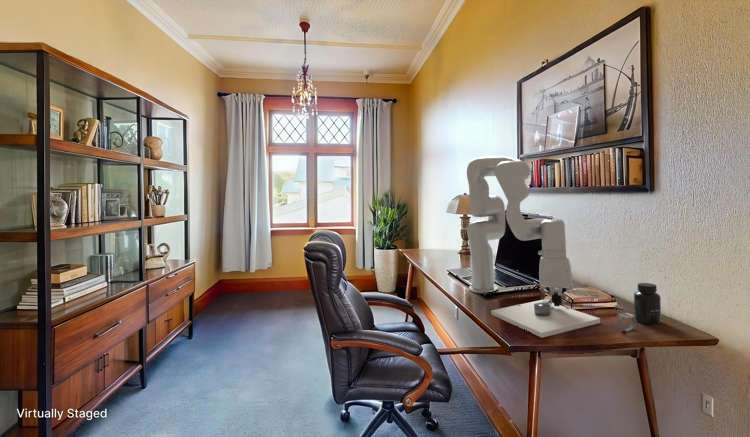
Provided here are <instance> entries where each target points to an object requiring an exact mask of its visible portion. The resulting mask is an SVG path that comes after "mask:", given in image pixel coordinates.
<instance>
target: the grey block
mask: <svg viewBox="0 0 750 437" xmlns="http://www.w3.org/2000/svg"><path fill="white" fill-rule="evenodd" d="M542 300H543V301H542V302H541V303H535V304H534V313H535V314H536V315H540V316H548V315H550V308H551V307H552V296H549V295H547V296H545V297H544V299H542Z"/></svg>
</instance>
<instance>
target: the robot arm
mask: <svg viewBox="0 0 750 437" xmlns="http://www.w3.org/2000/svg"><path fill="white" fill-rule="evenodd" d="M530 175H531V168H530V167H529V164H527V162H525V161H524V160H520V159H517V158H512V157H508V156H503V155H502V156H501V155H499V156H498V155H495V156H490V155H489V156H479V157H476V158H473V159H472V160H470V162H469V163H468V165H467V168H466V178H467V182H468V189H469V191H468V192H469V194H468V196H469V200H468V201H469V212H470V214H471V216H472V217H473V218H477V219H478V218H488V219H482V220H476V221H472V222H470V223H469V225H468V226H467V227H466V233H467V238H468V243H469V248H470V250H469V251H470V263H471V264H470V265H471V278H470V279H469V280H468V281H469V283H471V285H469V287H468V290H469V291H470V292H472V293H475V294H484V293H483V292H489V291H494V290H497V289H498V290H499V287H498V285H495V274H494V257H493V254H494V253H493V249H492V247H491V244H490V243H489V241H495V240H499V239H501V238H502V237H503V236H504V235H505V232H506V221H507V224H508V226H509V228H510V230H511V232H512V233H513V235H514V237H515V238H516V239H518V240H519V241H532V240H537V239H538V240H539V239H541V250H538V252H537V255H539V256H541V257H542V258H541V257H540V259H539V271H538V277H539V278H538V281H539V288H540V289H543V290H544V289H546V290H547V291H548V292H549V293H548V294H550V295H551V297H552V303H554V306H558V307H559V306H560V305H562V304H563V296H562V294H563V293H564V292H565V291H566V292H567V291H573V290H574V286H573V273H572V267H571V261H570V258H569V257H567V246H566V245H567V244H566V229H565V228H566V227H565V226H566V224H565V222H564V220H563V219H558V218H557V219H556V218H555V219H554V218H551V219H548V218H544V217H543V218H541V217H539V218H538V217H537V218H531V219H525V217H524V216H523V214H522V211H521V202H523V201H524V200H525V199H527V198H528V197H529V195H530V190H529V188H528V186H527V184H526V183H525V181H526V180H528V178H529V177H530ZM486 177H495V178H496V181H498V185H500V188H501V191H503V193H504V196H505V198H506V200H507V204H506V205H505V202H504V201H503V199H502V198H501V197H500V196H499V195H495V194H494V195H493V194H492V195H490V186H489V183H488V180H486ZM554 287H557V288H558V292H555V288H554Z"/></svg>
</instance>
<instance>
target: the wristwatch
mask: <svg viewBox="0 0 750 437" xmlns="http://www.w3.org/2000/svg"><path fill="white" fill-rule="evenodd" d="M617 316H618V319H617V321H616V322H617V323H616V325H617V328H618V329H619V330H621V331H622V332H626V333H628V332H631V331H633V330H634V328H636V326H637V321H636V318H635V315H634V314H632V313H629V312H623V313H620V314H618V315H617ZM624 319H625V320H628V319H631V324H630V325H629V327H628V328H625V329H624V328H623V327H622V323H623V321H624Z"/></svg>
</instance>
